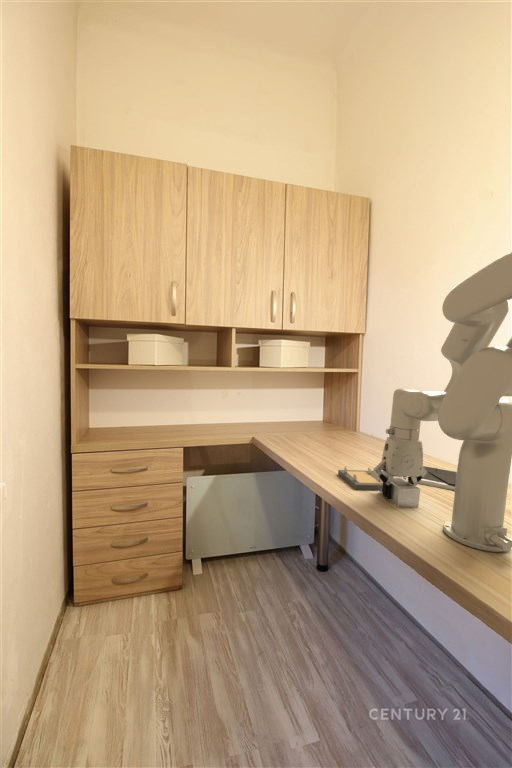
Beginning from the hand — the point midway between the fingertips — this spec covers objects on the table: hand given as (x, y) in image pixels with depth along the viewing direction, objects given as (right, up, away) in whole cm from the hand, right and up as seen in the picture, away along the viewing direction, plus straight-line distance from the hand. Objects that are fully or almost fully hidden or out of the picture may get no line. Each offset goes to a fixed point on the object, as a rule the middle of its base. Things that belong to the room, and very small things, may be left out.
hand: (397, 497), depth 97 cm
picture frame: (+23, -2, +23) cm, 32 cm away
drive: (0, -1, 0) cm, 1 cm away
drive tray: (-2, 0, +14) cm, 14 cm away
